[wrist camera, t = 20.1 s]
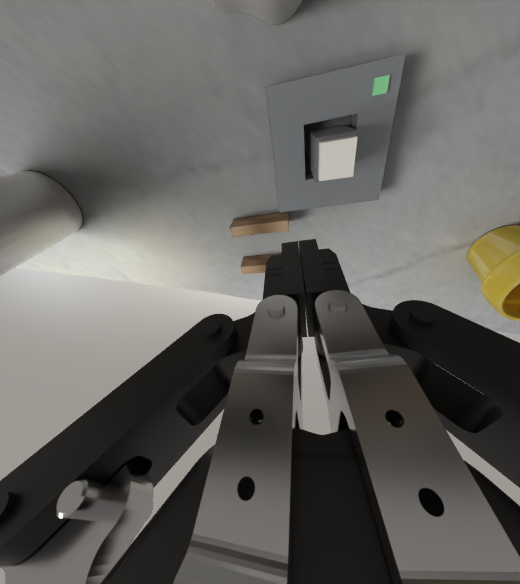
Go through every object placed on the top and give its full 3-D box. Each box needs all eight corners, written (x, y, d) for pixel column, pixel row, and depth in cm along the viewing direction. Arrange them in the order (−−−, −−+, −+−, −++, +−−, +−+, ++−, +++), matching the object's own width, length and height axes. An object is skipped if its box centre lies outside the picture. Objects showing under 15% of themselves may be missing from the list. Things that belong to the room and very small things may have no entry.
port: (280, 205, 30) (279, 213, 28) (267, 88, 22) (265, 87, 20) (372, 192, 28) (379, 200, 25) (394, 58, 20) (407, 52, 18)
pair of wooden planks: (245, 263, 37) (242, 274, 35) (233, 218, 32) (229, 227, 29) (292, 259, 35) (292, 270, 33) (287, 211, 30) (287, 220, 28)
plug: (309, 166, 26) (316, 185, 20) (309, 130, 24) (316, 139, 18) (340, 162, 26) (356, 179, 20) (343, 124, 23) (361, 131, 17)
